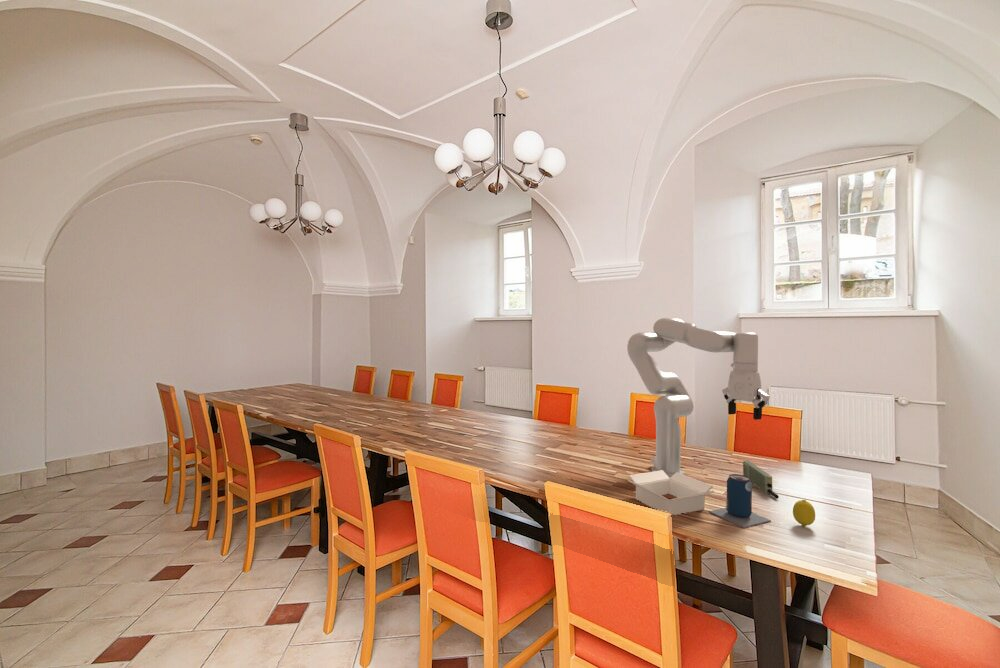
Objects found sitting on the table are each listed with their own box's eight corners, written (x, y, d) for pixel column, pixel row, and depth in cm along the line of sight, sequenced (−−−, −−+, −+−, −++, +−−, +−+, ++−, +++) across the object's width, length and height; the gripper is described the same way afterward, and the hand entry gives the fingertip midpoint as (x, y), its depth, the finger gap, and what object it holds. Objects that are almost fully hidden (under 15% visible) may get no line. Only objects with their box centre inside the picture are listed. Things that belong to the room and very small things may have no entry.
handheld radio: (751, 476, 175) (782, 500, 150) (742, 476, 176) (772, 500, 151) (750, 460, 175) (782, 481, 150) (741, 460, 176) (771, 481, 151)
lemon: (788, 522, 133) (788, 496, 132) (805, 522, 133) (805, 496, 133) (802, 531, 127) (802, 503, 127) (819, 530, 128) (820, 503, 127)
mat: (709, 512, 139) (709, 511, 139) (735, 506, 144) (735, 505, 144) (743, 528, 128) (743, 526, 128) (770, 521, 133) (770, 520, 133)
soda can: (756, 519, 134) (757, 480, 134) (736, 520, 133) (737, 481, 132) (740, 509, 141) (741, 472, 141) (721, 511, 139) (721, 473, 139)
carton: (620, 496, 152) (620, 476, 152) (669, 488, 160) (669, 468, 160) (668, 523, 131) (669, 499, 131) (721, 511, 140) (722, 489, 140)
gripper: (716, 366, 159) (715, 412, 159) (761, 370, 143) (760, 422, 143) (730, 365, 162) (730, 411, 162) (776, 369, 146) (775, 420, 146)
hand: (744, 416), depth 152 cm, fingers open, 9 cm apart
